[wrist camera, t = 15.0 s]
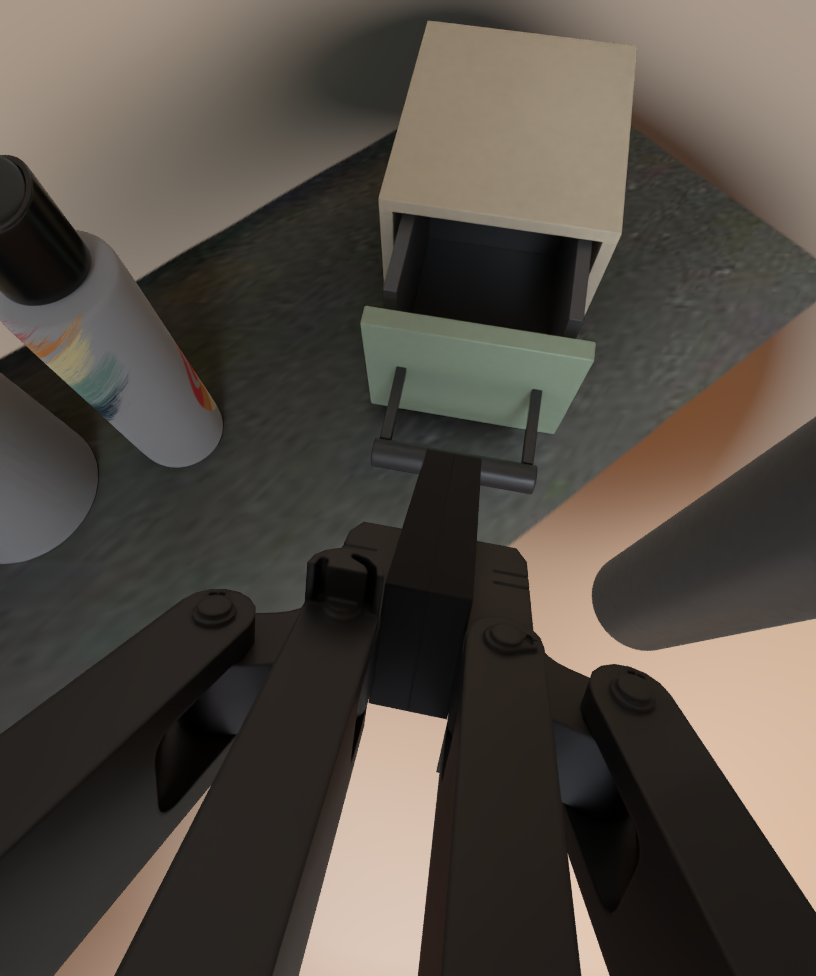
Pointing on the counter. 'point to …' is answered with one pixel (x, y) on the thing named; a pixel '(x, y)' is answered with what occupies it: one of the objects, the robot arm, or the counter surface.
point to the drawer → (478, 336)
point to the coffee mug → (39, 477)
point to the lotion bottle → (97, 326)
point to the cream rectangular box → (514, 137)
